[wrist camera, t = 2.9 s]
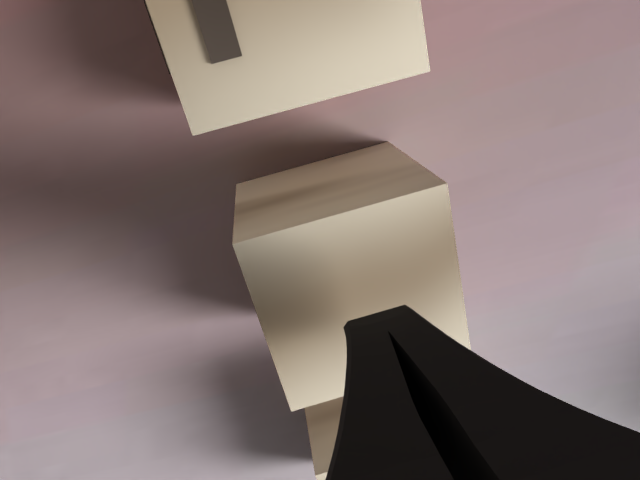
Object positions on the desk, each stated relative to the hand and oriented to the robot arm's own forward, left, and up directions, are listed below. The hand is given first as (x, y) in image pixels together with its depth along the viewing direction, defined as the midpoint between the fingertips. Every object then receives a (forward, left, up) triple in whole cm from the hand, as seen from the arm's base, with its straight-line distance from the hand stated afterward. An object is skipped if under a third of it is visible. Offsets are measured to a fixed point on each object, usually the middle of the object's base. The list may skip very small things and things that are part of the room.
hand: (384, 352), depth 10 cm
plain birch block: (0, 0, -7) cm, 7 cm away
